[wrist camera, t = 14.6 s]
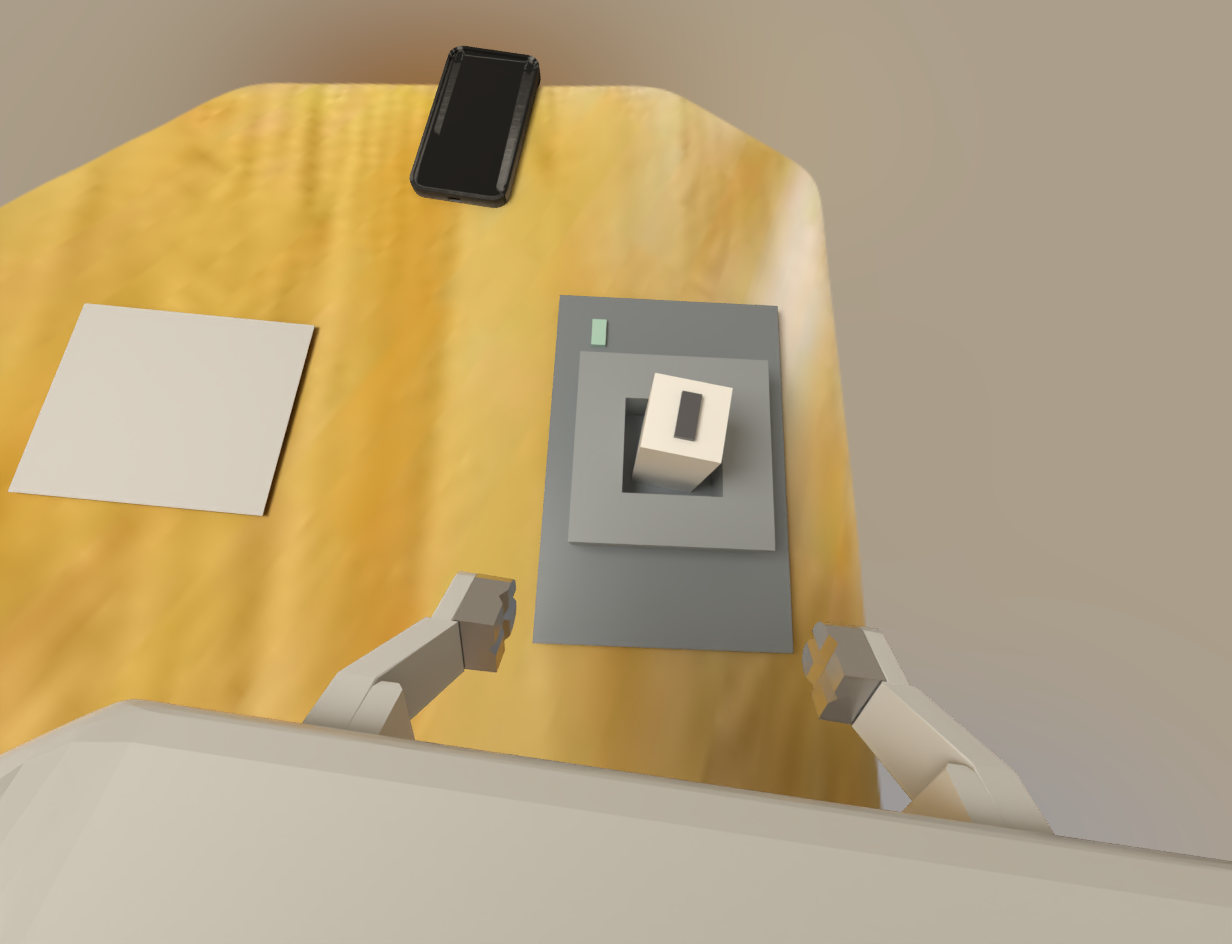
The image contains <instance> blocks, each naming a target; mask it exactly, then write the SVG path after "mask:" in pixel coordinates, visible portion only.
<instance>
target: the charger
mask: <svg viewBox="0 0 1232 944" xmlns="http://www.w3.org/2000/svg"><path fill="white" fill-rule="evenodd" d="M732 390H733V388H730V387H725V386H719V385H714V384H709V383H704V382H699V381H694V380H689V379H684V378H679V377H674V376H669V375H664V374H659V373H655V375H654V379H653V384H652V388H651V392H650V396H649V400H648V404H647V408H646V412H645V416H644V420H643V424H642V429H641V434H640V439H639V444H638V449H637V453H636V458H635V463H634V468H633V473H632V478H631V481H636V482H641V483H646V484H651V485H656V486H660V487H665V488H670V489H675V490H680V491H685V492H691V491H693V490H694V489H695V488H696V487H697V486H698V485H699V484H700V483H701V482H702V481H703V480H704V479H705V478H706V477H707V476H708V475H709V474H710V473H711V472H712V471H714V470H715V469H716V468H717V467H718V466H719V465H720V464H721V461H722V455H723V448H724V442H725V435H726V429H727V422H728V416H729V409H730V403H731V396H732Z"/></svg>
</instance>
